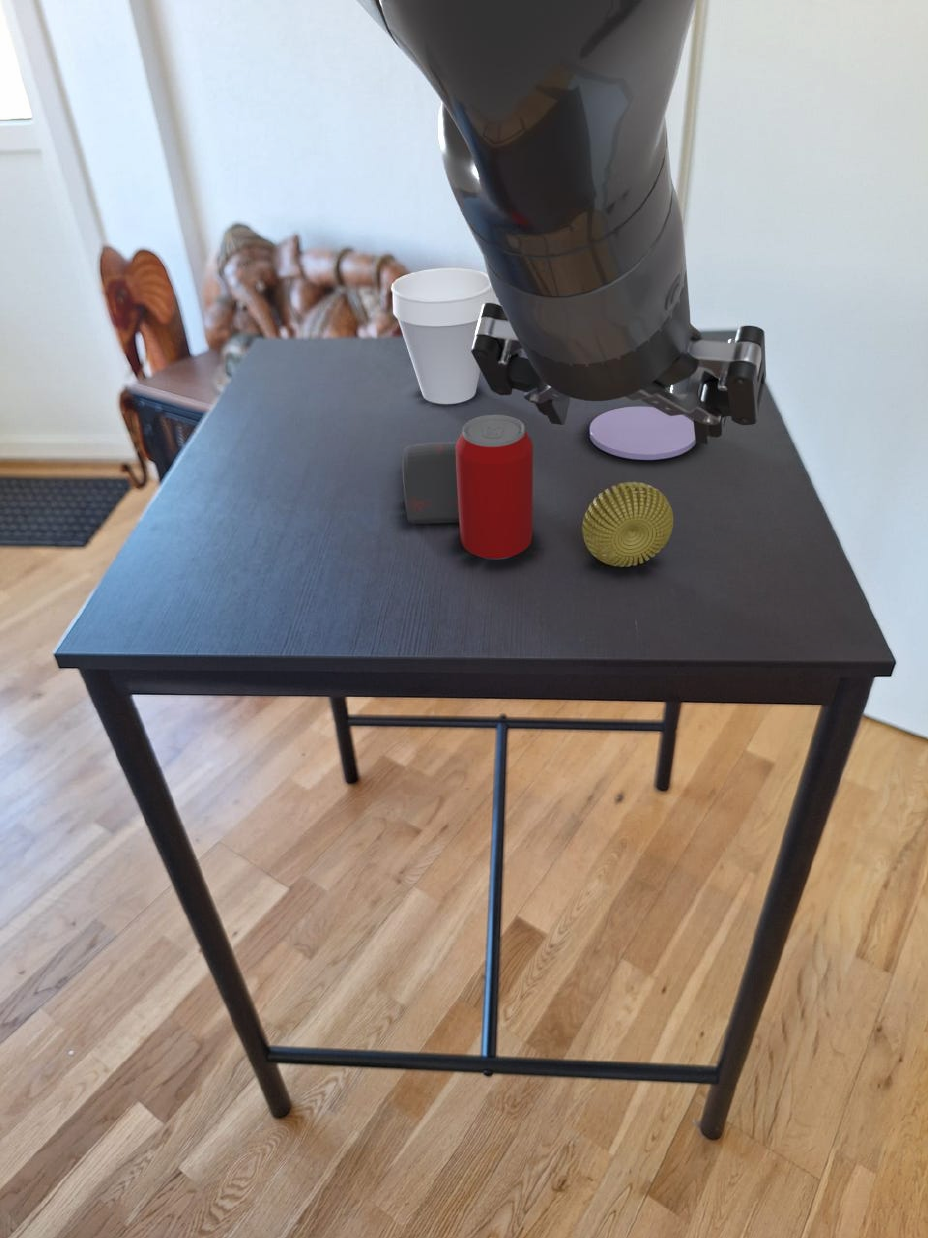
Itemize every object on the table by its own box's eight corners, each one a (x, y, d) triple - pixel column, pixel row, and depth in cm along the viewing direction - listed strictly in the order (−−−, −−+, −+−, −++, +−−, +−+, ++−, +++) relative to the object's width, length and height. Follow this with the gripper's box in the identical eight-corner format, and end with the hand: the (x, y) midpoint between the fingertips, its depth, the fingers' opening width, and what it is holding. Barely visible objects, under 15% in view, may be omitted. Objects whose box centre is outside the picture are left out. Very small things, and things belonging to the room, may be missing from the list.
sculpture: (660, 546, 78) (669, 469, 73) (674, 570, 75) (684, 492, 70) (575, 554, 77) (579, 478, 73) (585, 580, 74) (590, 501, 69)
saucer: (705, 421, 98) (706, 413, 97) (685, 469, 89) (687, 460, 88) (604, 408, 102) (604, 400, 101) (576, 453, 93) (576, 445, 92)
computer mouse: (481, 457, 93) (480, 424, 91) (481, 523, 82) (480, 487, 80) (408, 460, 93) (405, 427, 91) (399, 526, 83) (395, 490, 80)
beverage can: (533, 526, 82) (534, 411, 74) (530, 566, 76) (531, 446, 69) (464, 525, 82) (458, 410, 75) (457, 565, 77) (449, 445, 70)
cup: (493, 413, 102) (490, 299, 93) (393, 413, 103) (381, 300, 95) (501, 373, 111) (499, 266, 103) (409, 373, 113) (400, 267, 104)
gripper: (794, 193, 32) (771, 370, 47) (450, 179, 37) (531, 345, 52) (752, 380, 32) (743, 498, 47) (408, 343, 36) (503, 461, 51)
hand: (631, 418), depth 49 cm, fingers open, 8 cm apart
